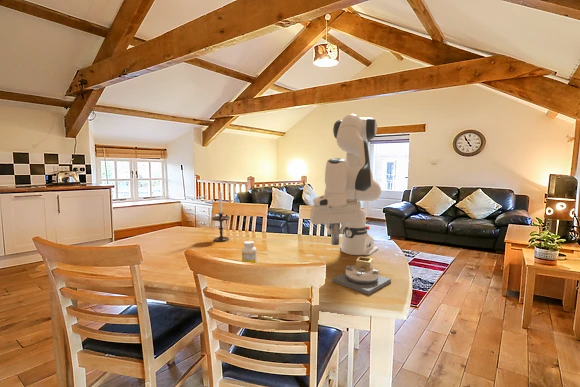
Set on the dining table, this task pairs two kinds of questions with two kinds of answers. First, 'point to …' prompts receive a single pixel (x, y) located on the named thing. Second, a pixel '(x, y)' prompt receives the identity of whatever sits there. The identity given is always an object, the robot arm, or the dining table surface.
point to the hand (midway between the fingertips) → (335, 234)
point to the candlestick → (220, 220)
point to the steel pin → (335, 234)
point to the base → (362, 287)
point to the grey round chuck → (362, 271)
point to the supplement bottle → (249, 252)
